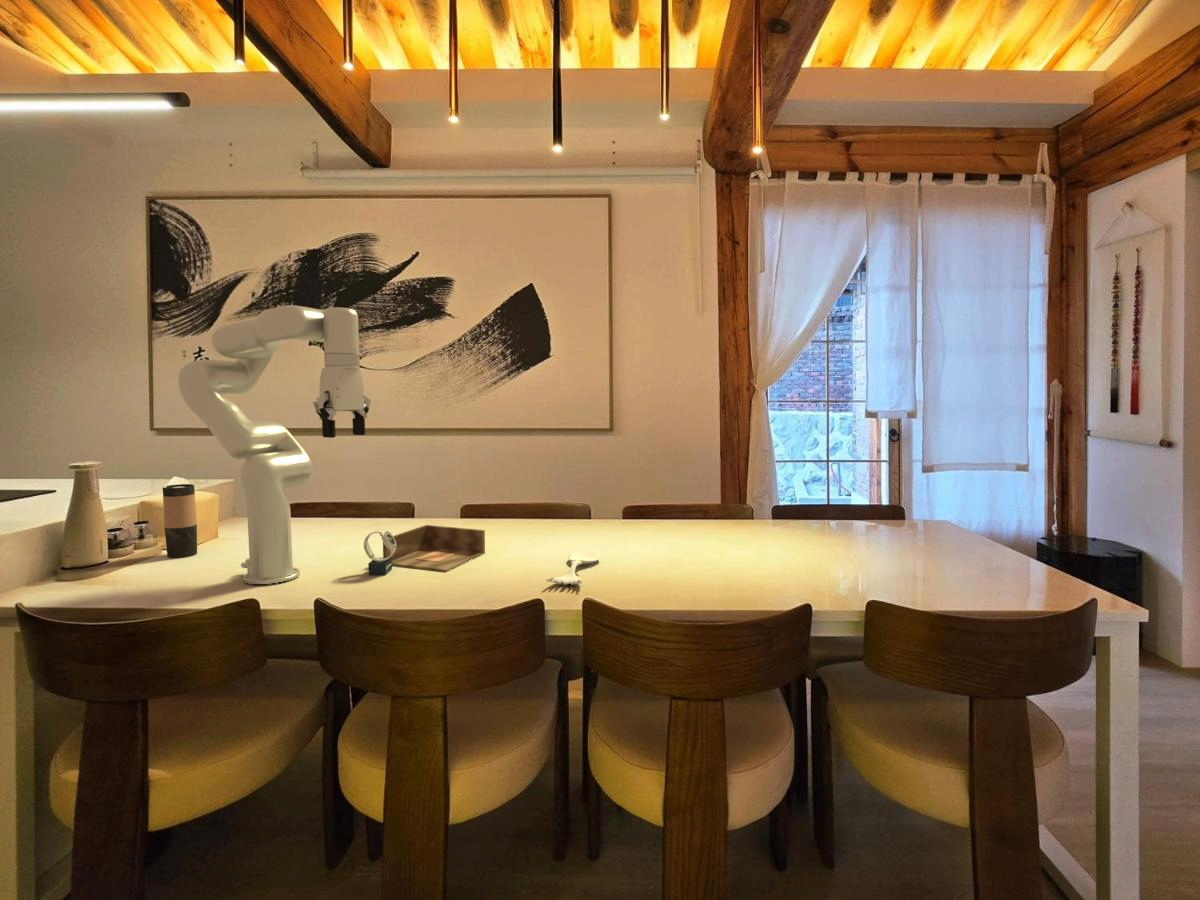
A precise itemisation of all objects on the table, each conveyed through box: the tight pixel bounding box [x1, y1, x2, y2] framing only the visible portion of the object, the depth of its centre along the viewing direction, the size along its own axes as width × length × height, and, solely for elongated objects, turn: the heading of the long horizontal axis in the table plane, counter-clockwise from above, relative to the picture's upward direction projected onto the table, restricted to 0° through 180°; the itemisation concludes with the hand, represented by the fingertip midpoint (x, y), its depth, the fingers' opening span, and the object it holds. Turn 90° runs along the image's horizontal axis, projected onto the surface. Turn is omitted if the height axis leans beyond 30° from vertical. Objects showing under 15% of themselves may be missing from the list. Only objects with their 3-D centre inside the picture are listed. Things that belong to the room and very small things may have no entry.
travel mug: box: [162, 483, 198, 559], centre depth 177 cm, size 8×8×20 cm
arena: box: [382, 524, 486, 572], centre depth 175 cm, size 20×20×7 cm
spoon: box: [545, 548, 601, 586], centre depth 163 cm, size 9×32×4 cm, turn 170°
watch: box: [363, 529, 397, 576], centre depth 162 cm, size 6×8×11 cm
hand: (344, 436), depth 145 cm, fingers open, 9 cm apart
